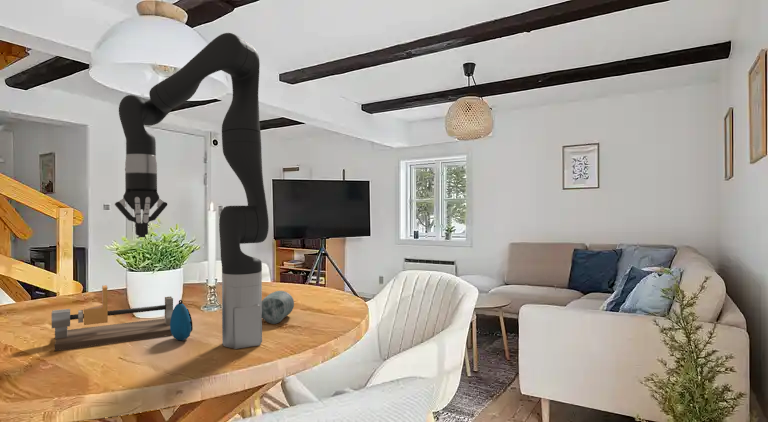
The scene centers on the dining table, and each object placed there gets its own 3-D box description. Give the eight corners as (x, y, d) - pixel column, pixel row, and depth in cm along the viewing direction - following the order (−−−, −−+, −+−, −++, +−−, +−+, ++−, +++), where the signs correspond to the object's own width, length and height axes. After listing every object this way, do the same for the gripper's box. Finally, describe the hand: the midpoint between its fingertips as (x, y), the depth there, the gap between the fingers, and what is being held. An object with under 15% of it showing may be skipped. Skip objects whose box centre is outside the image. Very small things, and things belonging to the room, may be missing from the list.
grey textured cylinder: (288, 315, 128) (275, 282, 131) (257, 330, 129) (246, 297, 132) (306, 316, 141) (294, 286, 144) (278, 329, 142) (267, 299, 145)
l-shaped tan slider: (107, 322, 117) (107, 287, 117) (83, 325, 114) (83, 289, 114) (107, 319, 120) (106, 285, 120) (83, 322, 118) (83, 287, 117)
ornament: (196, 341, 114) (196, 301, 114) (177, 345, 111) (176, 303, 111) (185, 334, 121) (185, 296, 121) (166, 338, 118) (166, 298, 117)
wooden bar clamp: (177, 334, 121) (177, 301, 121) (50, 351, 107) (50, 314, 107) (169, 323, 133) (169, 293, 133) (53, 337, 118) (53, 303, 118)
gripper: (114, 170, 118) (114, 238, 118) (170, 172, 126) (171, 236, 126) (111, 172, 124) (112, 237, 124) (165, 174, 132) (166, 235, 132)
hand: (141, 237), depth 125 cm, fingers closed
